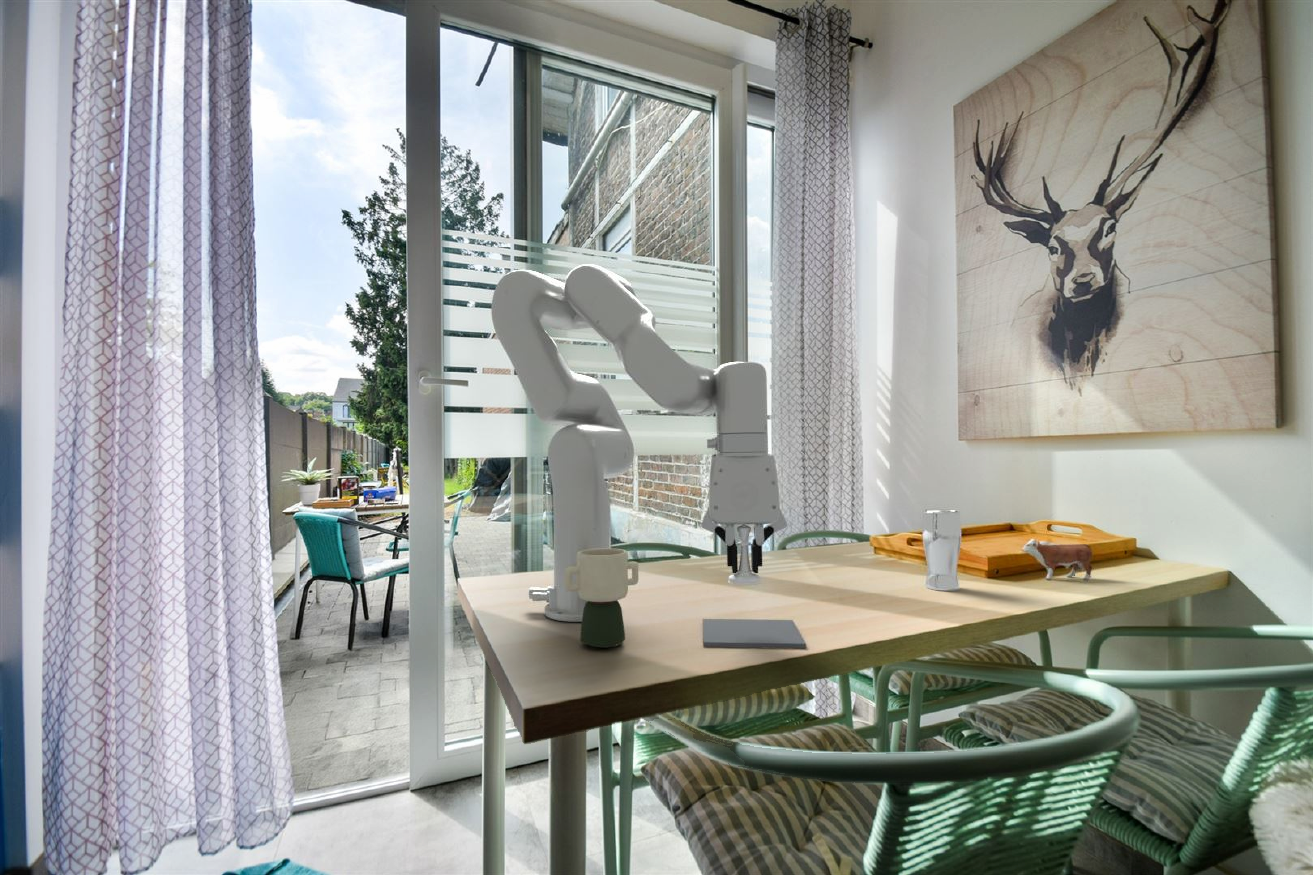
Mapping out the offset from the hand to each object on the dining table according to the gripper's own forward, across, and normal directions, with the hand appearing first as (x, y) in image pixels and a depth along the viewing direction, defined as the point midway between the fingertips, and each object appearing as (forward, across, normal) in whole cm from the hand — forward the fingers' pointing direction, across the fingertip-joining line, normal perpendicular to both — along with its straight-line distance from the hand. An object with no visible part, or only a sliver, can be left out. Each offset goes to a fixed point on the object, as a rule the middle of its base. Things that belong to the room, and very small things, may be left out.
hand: (744, 570), depth 91 cm
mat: (+9, +1, 0) cm, 9 cm away
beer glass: (+10, +41, +33) cm, 53 cm away
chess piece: (+2, 0, 0) cm, 2 cm away
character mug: (+9, -20, -6) cm, 23 cm away
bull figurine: (+10, +68, +43) cm, 82 cm away
